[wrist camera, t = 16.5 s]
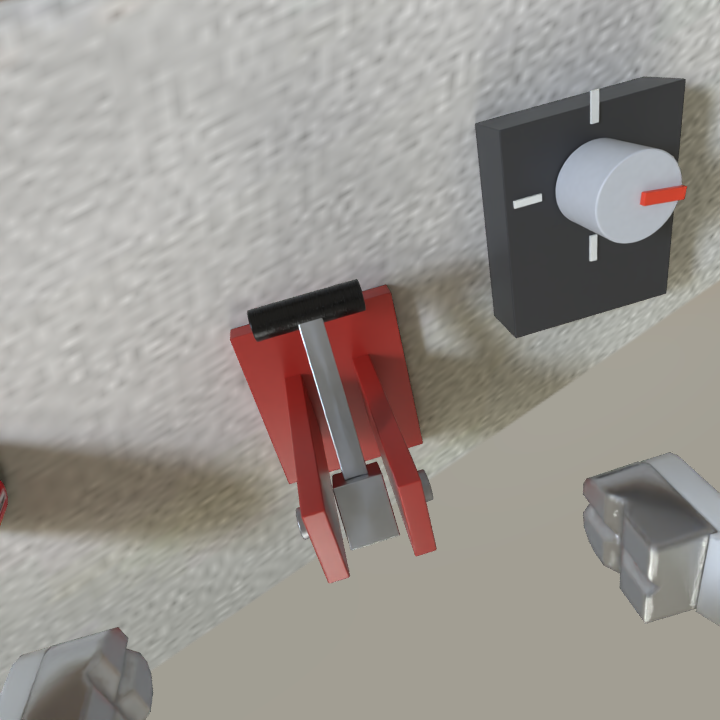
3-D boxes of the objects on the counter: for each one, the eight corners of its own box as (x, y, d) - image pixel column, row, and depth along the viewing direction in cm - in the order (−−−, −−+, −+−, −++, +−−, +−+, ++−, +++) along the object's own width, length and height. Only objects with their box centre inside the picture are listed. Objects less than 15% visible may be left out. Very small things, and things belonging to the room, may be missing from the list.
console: (473, 110, 26) (499, 116, 23) (644, 62, 26) (690, 63, 24) (493, 316, 32) (516, 340, 29) (633, 275, 32) (668, 294, 30)
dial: (551, 228, 26) (594, 252, 23) (558, 144, 24) (606, 157, 21) (625, 216, 27) (677, 238, 24) (638, 132, 25) (697, 143, 22)
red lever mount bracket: (230, 329, 29) (222, 472, 19) (386, 284, 30) (458, 400, 20) (287, 472, 35) (305, 640, 25) (418, 432, 35) (487, 582, 25)
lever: (251, 312, 24) (243, 308, 22) (355, 282, 25) (358, 275, 22) (320, 540, 25) (319, 561, 22) (421, 508, 25) (431, 525, 23)
